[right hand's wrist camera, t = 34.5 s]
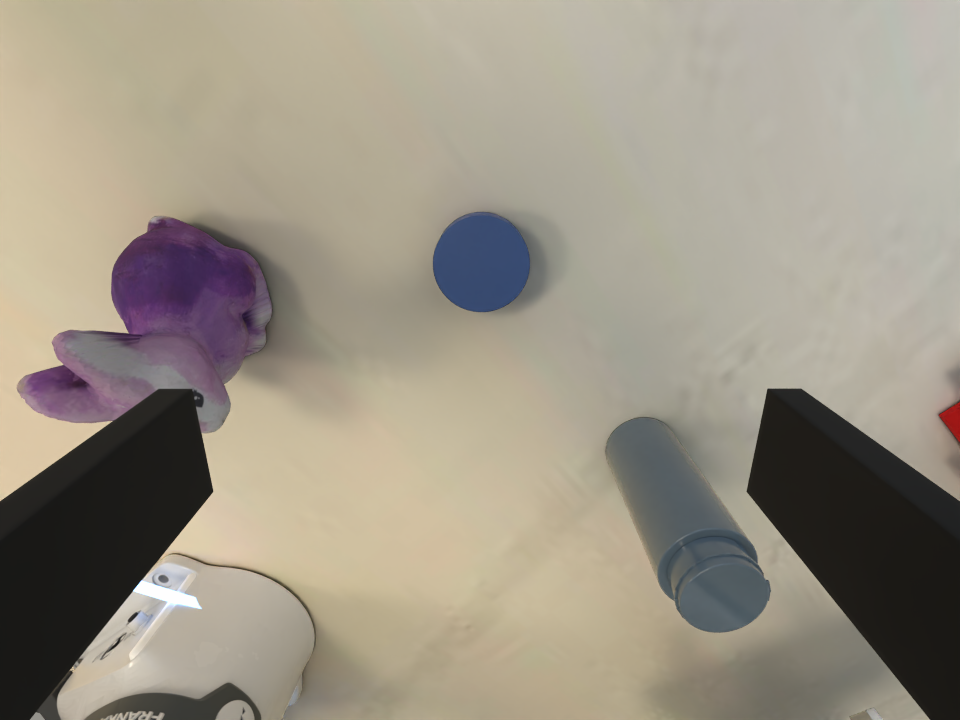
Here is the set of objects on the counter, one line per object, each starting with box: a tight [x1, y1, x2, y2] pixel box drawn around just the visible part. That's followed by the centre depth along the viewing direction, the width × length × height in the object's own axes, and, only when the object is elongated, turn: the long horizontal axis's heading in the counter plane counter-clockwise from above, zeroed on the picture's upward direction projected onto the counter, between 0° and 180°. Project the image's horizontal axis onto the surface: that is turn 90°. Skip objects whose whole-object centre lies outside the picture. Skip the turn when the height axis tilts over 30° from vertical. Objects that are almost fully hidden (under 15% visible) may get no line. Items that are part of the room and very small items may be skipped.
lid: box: [433, 212, 530, 312], centre depth 36 cm, size 6×6×2 cm
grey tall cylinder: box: [606, 418, 771, 633], centre depth 35 cm, size 6×6×16 cm
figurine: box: [17, 216, 272, 433], centre depth 31 cm, size 9×10×15 cm
